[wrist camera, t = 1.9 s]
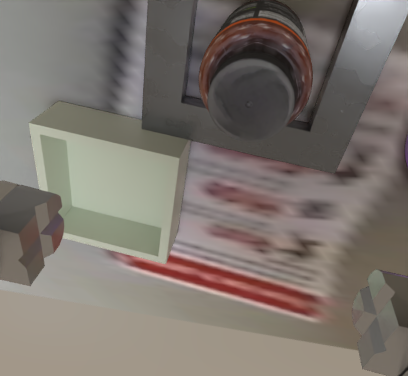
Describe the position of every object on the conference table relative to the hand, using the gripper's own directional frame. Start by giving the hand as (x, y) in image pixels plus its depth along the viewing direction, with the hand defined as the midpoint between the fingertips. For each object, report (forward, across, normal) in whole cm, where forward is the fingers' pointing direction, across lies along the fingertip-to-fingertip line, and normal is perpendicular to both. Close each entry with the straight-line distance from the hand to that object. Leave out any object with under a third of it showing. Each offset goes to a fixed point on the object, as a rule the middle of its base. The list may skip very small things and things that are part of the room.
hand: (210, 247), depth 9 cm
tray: (+20, +10, +14) cm, 26 cm away
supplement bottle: (+20, 0, 0) cm, 20 cm away
